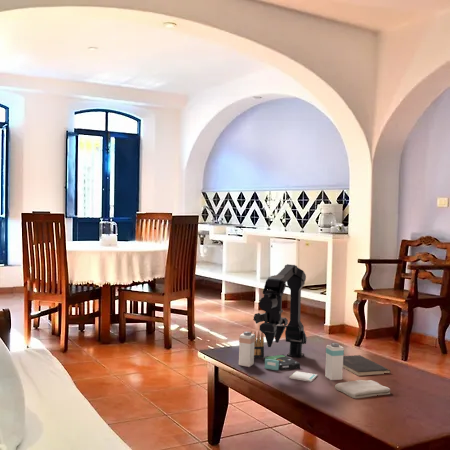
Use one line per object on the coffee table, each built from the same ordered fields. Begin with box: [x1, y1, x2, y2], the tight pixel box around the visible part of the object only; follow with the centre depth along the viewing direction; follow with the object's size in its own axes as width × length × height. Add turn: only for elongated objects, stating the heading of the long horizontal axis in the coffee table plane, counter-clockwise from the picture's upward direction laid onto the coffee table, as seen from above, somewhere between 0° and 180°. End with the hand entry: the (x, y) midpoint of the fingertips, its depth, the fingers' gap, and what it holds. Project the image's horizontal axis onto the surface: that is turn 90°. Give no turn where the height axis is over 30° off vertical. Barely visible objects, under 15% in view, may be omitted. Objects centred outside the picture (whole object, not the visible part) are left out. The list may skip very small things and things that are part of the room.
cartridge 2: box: [324, 342, 345, 381], centre depth 228 cm, size 5×5×14 cm
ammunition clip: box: [242, 330, 265, 359], centre depth 255 cm, size 11×2×12 cm, turn 105°
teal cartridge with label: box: [264, 359, 280, 371], centre depth 237 cm, size 1×6×4 cm, turn 65°
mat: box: [289, 370, 318, 383], centre depth 228 cm, size 9×9×1 cm
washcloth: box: [334, 379, 391, 399], centre depth 213 cm, size 12×18×3 cm, turn 115°
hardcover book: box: [343, 354, 391, 377], centre depth 246 cm, size 16×23×2 cm
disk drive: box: [263, 354, 301, 371], centre depth 245 cm, size 10×3×15 cm
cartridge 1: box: [238, 331, 255, 368], centre depth 243 cm, size 5×5×14 cm
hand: (273, 344), depth 235 cm, fingers open, 9 cm apart
